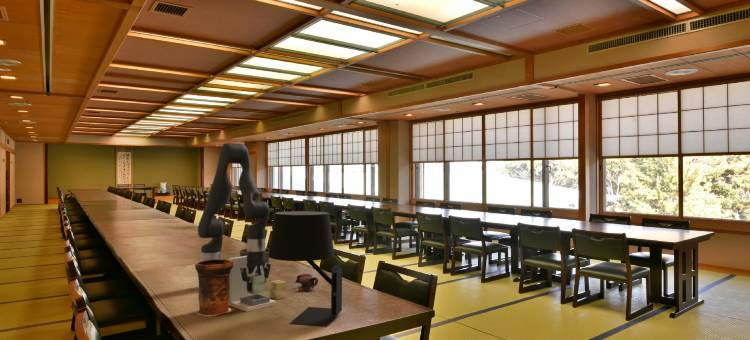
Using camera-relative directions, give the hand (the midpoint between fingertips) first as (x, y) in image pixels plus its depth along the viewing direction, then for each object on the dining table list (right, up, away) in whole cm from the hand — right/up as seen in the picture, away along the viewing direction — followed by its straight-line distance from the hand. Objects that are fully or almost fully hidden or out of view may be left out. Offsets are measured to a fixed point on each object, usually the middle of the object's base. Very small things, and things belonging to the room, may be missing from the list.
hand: (255, 289), depth 187 cm
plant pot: (-12, -8, +44) cm, 46 cm away
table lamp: (+22, -7, -12) cm, 26 cm away
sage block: (0, -1, 0) cm, 1 cm away
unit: (-2, -7, +1) cm, 7 cm away
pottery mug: (+17, -8, +29) cm, 35 cm away
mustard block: (+6, -7, +14) cm, 17 cm away
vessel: (-14, -6, -9) cm, 18 cm away
